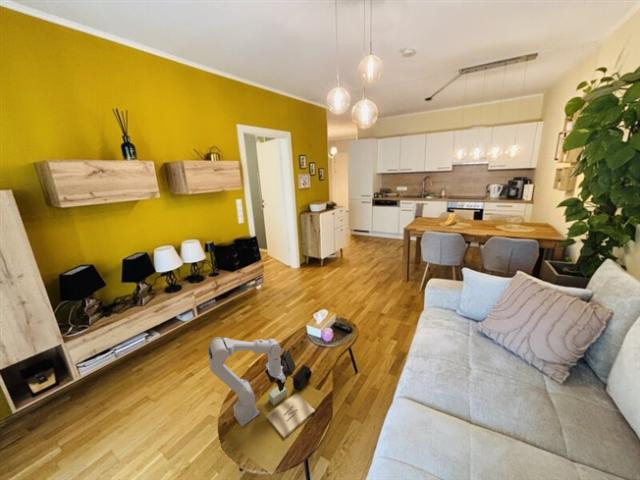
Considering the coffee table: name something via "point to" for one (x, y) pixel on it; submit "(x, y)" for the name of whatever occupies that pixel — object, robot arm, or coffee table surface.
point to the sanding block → (277, 395)
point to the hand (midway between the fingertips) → (276, 385)
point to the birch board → (290, 415)
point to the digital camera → (301, 378)
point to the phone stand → (287, 362)
